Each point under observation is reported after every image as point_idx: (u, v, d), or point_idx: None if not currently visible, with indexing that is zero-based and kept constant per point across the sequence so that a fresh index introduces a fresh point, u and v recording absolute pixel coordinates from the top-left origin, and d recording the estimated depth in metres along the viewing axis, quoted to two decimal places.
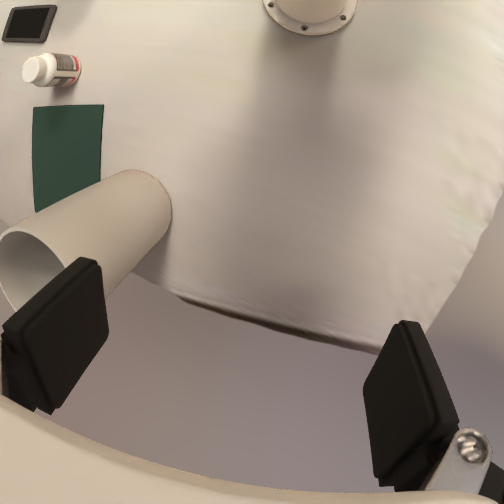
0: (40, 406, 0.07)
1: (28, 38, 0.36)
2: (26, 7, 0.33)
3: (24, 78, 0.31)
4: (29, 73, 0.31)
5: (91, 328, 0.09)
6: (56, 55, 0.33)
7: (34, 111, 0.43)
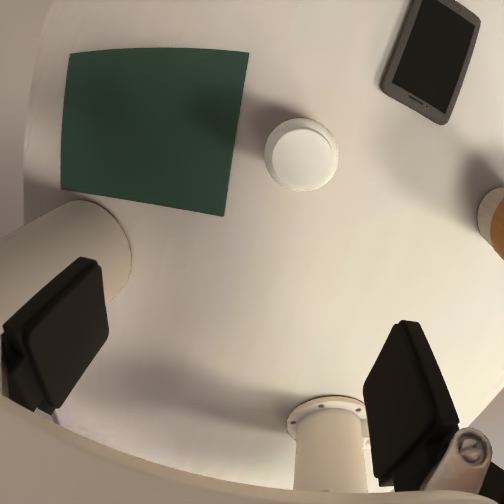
0: (40, 407, 0.07)
1: (401, 52, 0.22)
2: (469, 56, 0.21)
3: (286, 139, 0.19)
4: (293, 157, 0.19)
5: (91, 328, 0.09)
6: None
7: (238, 56, 0.25)
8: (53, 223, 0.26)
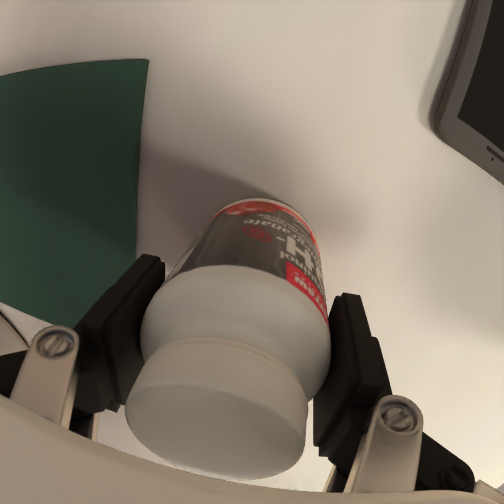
0: None
1: (476, 50, 0.09)
2: None
3: (152, 402, 0.06)
4: (184, 437, 0.06)
5: None
6: None
7: (127, 69, 0.11)
8: None
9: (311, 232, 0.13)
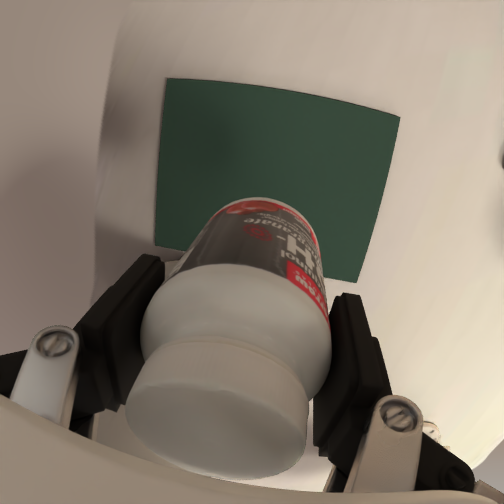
0: None
1: None
2: None
3: (152, 401, 0.05)
4: (184, 437, 0.06)
5: None
6: None
7: (390, 119, 0.23)
8: None
9: (311, 231, 0.13)
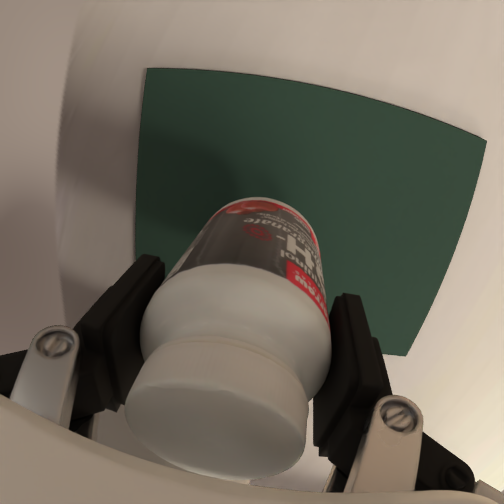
0: None
1: None
2: None
3: (152, 401, 0.05)
4: (184, 437, 0.06)
5: None
6: None
7: (475, 143, 0.14)
8: None
9: (311, 231, 0.13)
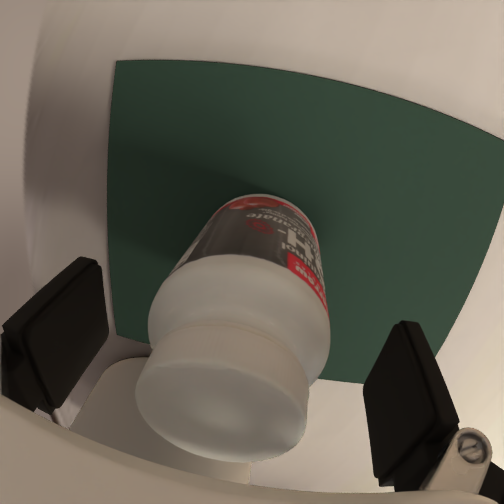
0: (40, 407, 0.07)
1: None
2: None
3: (162, 381, 0.06)
4: (191, 418, 0.06)
5: (91, 328, 0.09)
6: None
7: None
8: (153, 461, 0.13)
9: (311, 226, 0.13)
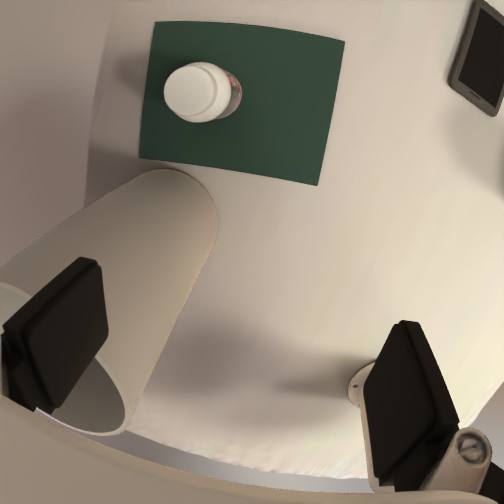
0: (40, 407, 0.07)
1: (464, 55, 0.24)
2: None
3: (174, 76, 0.21)
4: (180, 89, 0.21)
5: (91, 328, 0.09)
6: (223, 112, 0.26)
7: (336, 43, 0.26)
8: (153, 187, 0.28)
9: None
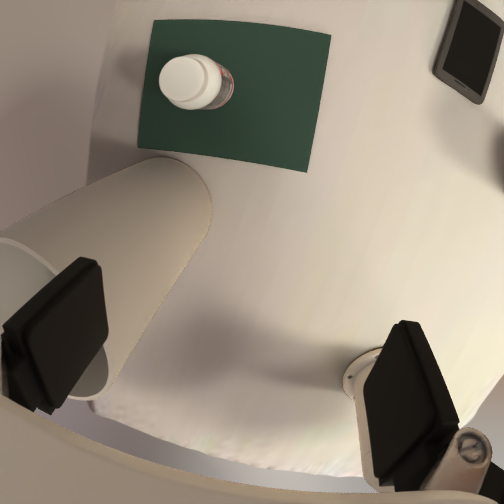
0: (40, 407, 0.07)
1: (448, 45, 0.25)
2: (497, 51, 0.24)
3: (169, 65, 0.22)
4: (174, 78, 0.23)
5: (91, 328, 0.09)
6: (214, 100, 0.27)
7: (323, 37, 0.28)
8: (149, 171, 0.29)
9: (228, 71, 0.30)
